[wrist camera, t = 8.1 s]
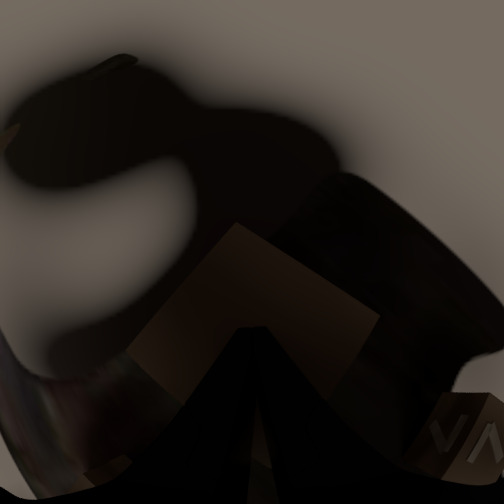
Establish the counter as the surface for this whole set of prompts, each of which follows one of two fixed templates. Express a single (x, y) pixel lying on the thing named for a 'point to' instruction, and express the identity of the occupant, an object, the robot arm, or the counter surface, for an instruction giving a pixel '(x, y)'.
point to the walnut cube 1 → (101, 474)
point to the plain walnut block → (252, 320)
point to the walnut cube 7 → (462, 439)
